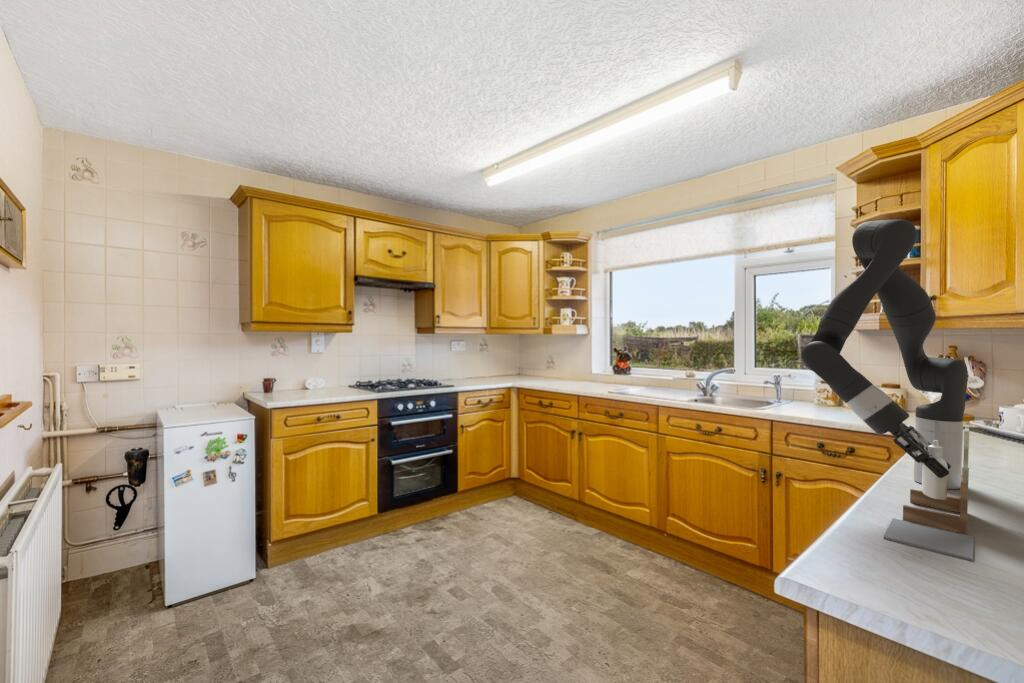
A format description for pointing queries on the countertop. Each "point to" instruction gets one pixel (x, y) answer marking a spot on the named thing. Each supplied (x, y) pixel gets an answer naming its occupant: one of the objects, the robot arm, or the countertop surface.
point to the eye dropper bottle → (930, 481)
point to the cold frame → (943, 502)
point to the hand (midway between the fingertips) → (945, 472)
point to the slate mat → (931, 538)
